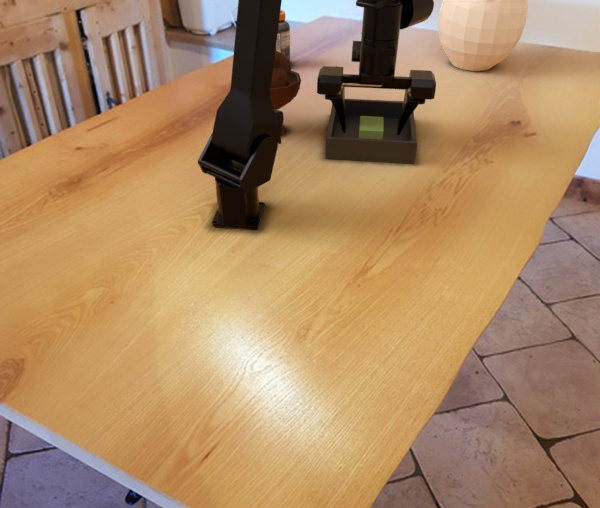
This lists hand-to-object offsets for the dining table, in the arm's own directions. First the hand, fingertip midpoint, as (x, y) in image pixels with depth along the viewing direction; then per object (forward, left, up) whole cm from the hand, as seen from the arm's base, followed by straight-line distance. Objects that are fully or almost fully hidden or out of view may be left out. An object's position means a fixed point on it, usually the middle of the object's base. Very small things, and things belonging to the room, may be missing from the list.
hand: (371, 133), depth 94 cm
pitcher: (+45, -23, -2) cm, 50 cm away
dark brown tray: (+2, 0, -2) cm, 3 cm away
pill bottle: (+39, +22, -2) cm, 45 cm away
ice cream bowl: (+3, +18, -2) cm, 18 cm away
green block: (0, 0, -1) cm, 1 cm away
